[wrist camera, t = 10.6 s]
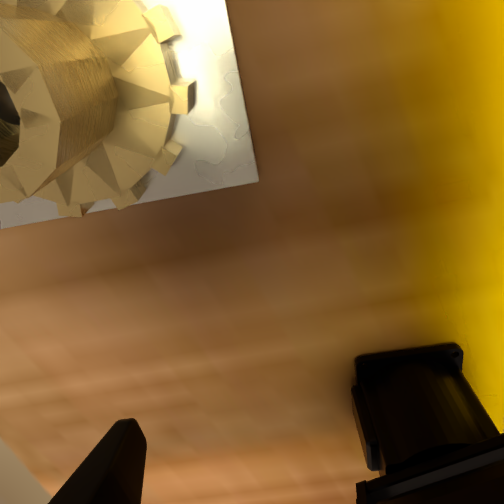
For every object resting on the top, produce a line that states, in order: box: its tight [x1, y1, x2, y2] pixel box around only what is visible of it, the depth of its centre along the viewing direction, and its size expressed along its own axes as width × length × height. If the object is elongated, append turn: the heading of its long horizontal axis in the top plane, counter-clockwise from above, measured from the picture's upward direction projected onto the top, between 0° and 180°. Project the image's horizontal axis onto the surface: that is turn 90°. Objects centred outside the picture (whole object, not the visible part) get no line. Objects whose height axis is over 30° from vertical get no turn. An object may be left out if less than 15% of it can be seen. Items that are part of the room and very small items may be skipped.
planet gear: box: [0, 0, 193, 217], centre depth 13 cm, size 10×10×6 cm
